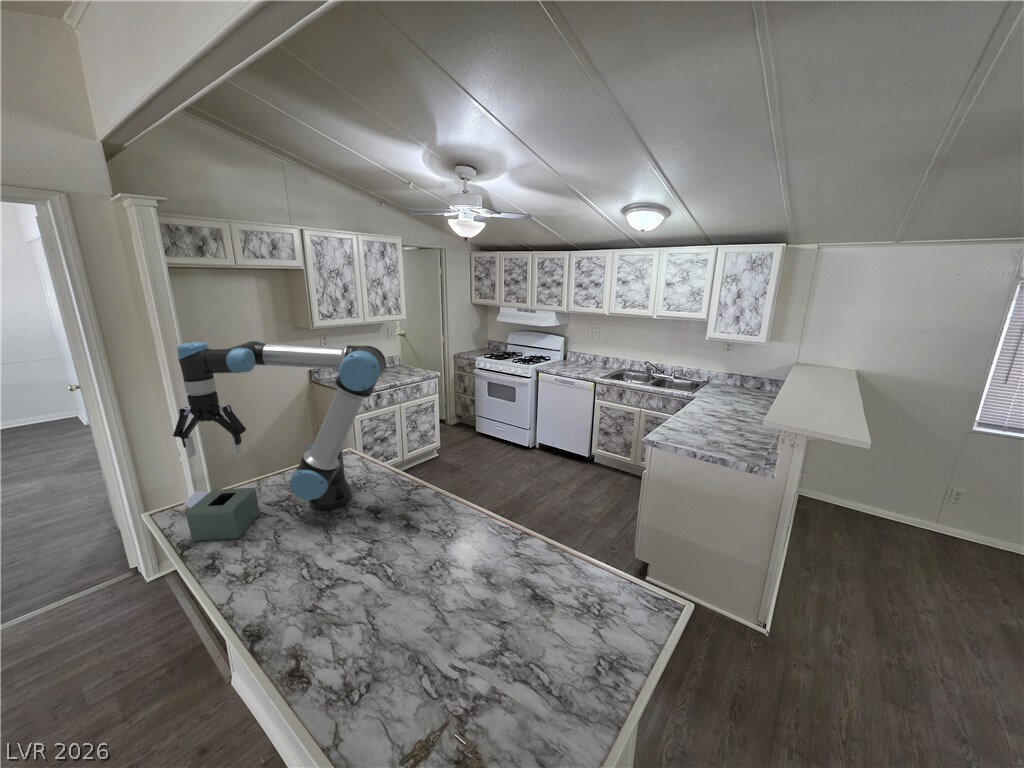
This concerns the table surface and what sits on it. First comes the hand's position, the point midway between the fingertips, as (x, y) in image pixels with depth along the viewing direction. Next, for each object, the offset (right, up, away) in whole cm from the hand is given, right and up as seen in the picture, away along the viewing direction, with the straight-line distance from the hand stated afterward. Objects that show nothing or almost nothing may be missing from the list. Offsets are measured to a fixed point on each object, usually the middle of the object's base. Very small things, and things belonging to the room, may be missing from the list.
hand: (215, 455), depth 130 cm
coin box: (0, -26, +6) cm, 27 cm away
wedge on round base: (-14, -24, +16) cm, 32 cm away
